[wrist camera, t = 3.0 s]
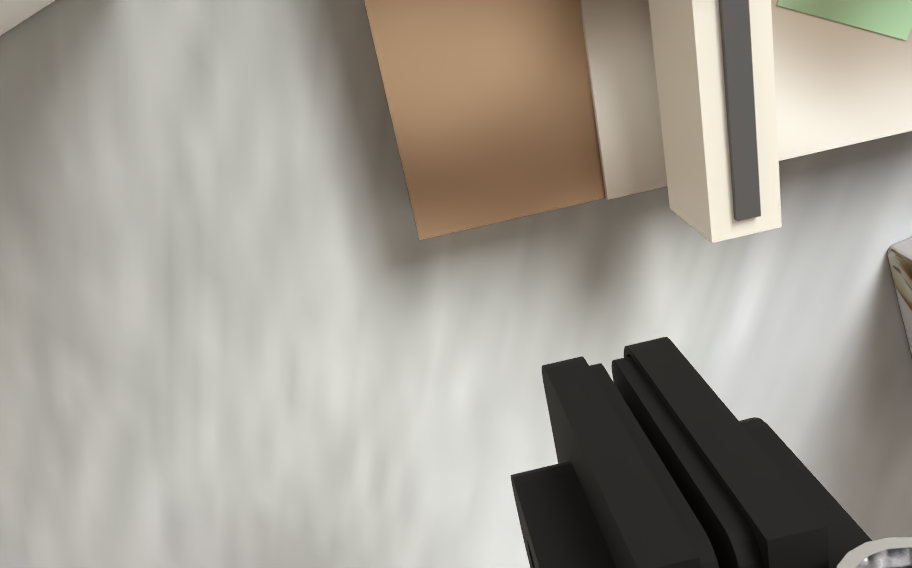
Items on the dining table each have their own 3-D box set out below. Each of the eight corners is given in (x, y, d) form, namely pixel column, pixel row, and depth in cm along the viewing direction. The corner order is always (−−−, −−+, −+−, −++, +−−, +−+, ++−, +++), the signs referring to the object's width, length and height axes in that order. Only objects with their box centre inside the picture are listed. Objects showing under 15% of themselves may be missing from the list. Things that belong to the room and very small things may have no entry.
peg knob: (577, -200, 19) (627, -236, 16) (738, -235, 20) (827, -279, 16) (628, 213, 24) (678, 261, 20) (762, 182, 24) (836, 224, 20)
